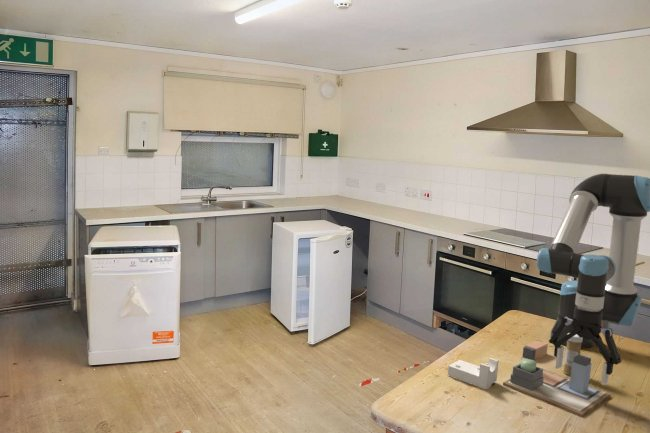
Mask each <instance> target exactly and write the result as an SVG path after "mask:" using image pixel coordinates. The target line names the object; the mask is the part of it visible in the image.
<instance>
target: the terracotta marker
mask: <svg viewBox="0 0 650 433" xmlns="http://www.w3.org/2000/svg"><path fill="white" fill-rule="evenodd" d="M548 346H549V344H548V343H547V342H544V341H540V340H534V341H532V342H530V343H527V344H525V346H523V349H522V358H523V359H530V360H533V361H535V360H537V359H539V358H542V357H543V356H545V355H547V353H548Z"/></svg>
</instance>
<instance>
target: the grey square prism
mask: <svg viewBox="0 0 650 433" xmlns="http://www.w3.org/2000/svg"><path fill="white" fill-rule="evenodd" d="M591 371H592V358H591V357H589V356H586V355H582V354H581V353H580V354H579V355H577V356H575V357H574V360H573V362H572V369H571V376H569V377H570V378H569V379H570V385H569V389H572V390H574V391H577V392H580V393H582V394H583V393H584V392H586V391H587V390H588V388H589V386H590V381H591V379H590V378H591Z"/></svg>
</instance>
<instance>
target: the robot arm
mask: <svg viewBox="0 0 650 433" xmlns="http://www.w3.org/2000/svg"><path fill="white" fill-rule="evenodd" d="M568 202H569V204H568V207H567V209H566V212H565V214H564V216H563V218H562V220H561V223H560V225H559V227H558V229H557V232H556V233H555V236H554V238H553V240H552V242H551V244H550V246H549V247H547V248H546V247H545V248H544V247H543V248H541V249H539V251H538V253H537V257H536V267H537V269H538V270H539V271H541V272H545V273H548V274H554V275H561V276H566V277H571V278H576V279H577V280H569V281H568V280H567V281H565V282H563V283H562V284H561V287H560V292H559V301H558V310H557V319H556V320H555V323H554V325H553V326H552V329H551V331H550V339H548V342H549V344H552V346H553V345H554V351H553V352H554V353H553V355H554V357H556V360H555V367H554V368H555V369H557V370H559V369H560V368H562V367H563V360H564V359H563V357H564V349H565V347H564V346H566V347H567V341H568V340H569V339H570V338H572V337H573V336H575V335H576V334H577V335H578V336H579V337H582V338H583V339H582V343H581V349H589V348H592V347H594V344H595V346H596V347H597V350H598V351H599V353H600V354H601V356H602V358H603V359H604V360H605V362H603V367H602V374H601V381H600V385H602V386H605V385H606V384H607V383H608V382H609V375H611V374H612V373H613V370H614V365H616V366H617V365H619V364H620V363H622V358H621V356H620V353H619V351H618V348H617V345H616V342H615V340H614V337H613V334H614V333H613V331H614V330H613V329H612V328H603V327H602V322H606V323H609V324H614V325H617V326H623V327H631V326H633V325H634V324H635V322H636V319H637V318H638V313H639V310H640V308H641V304H642V298H643V297H642V296H641V295H639V294H638V288H636V286H634V285H635V284H634V282H635V281H634V280H635V274H636V267H637V266H636V265H637V258H638V257H637V256H638V251H639V250H638V249H639V242H640V234H641V232H640V231H641V224H642V223H641V222H642V220H644V219H645V218H646V217H647V216H648V213H649V212H650V178H649V177H646V176H641V175H640V176H639V175H627V174H613V173H612V174H610V173H598V174H594V175H592V176H589V177H587V178H585V179H584V180H583V181H581V182H580V183H579V184H578V185H576V186H575V187H574V189H573V190H572V191H571V193H570V195H569V198H568ZM598 207H604V208H605V207H606V208H609V212H608V213H609V215H610V216H612V219H613V220H612V228H611V236H610V246H609V255H604V254H602V255H599V254H597V255H596V254H582V253H576V250H577V249H578V246H579V243H580V241H581V239H582V236H583V234H584V232H585V229H586V227H587V225H588V222H589V220H590V218H591V215H592V212H595V211H596V210H597V209H598ZM568 333H569V334H568ZM601 333H602V335H603V337H604V340H605V343H606V345H605V343H604V342H603V341H604V340H602V339H603V338H602V336H601V335H600V334H601ZM567 334H568V335H567Z"/></svg>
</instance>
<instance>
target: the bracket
mask: <svg viewBox="0 0 650 433" xmlns="http://www.w3.org/2000/svg"><path fill="white" fill-rule="evenodd" d="M499 361H500V360H499V359H497V358H496V359H495V358H492V357H490V358H489V360H488V363H487V364H485V363H482V362H481V363H480V364H479V365H477V364H473V363H471V362H467V361H464V360H462V359H458V360H456V361H455V362H453V363H451V364H449V365H448V369H447V376H448V375H449V376H448V377H450V376H452V377H451V378H453V377H455V378H454V379H456V378H457V380H458V379H459V381H461V380H462V381H461V382H464V383H467V384H469V383H470V385H472V384H473V385H472V386H475V387H477V386H478V388H480V389H483V390H488V389H489V388H491V387H492V385H493V384H494V383H496V382H497V380H498V371H499Z"/></svg>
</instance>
